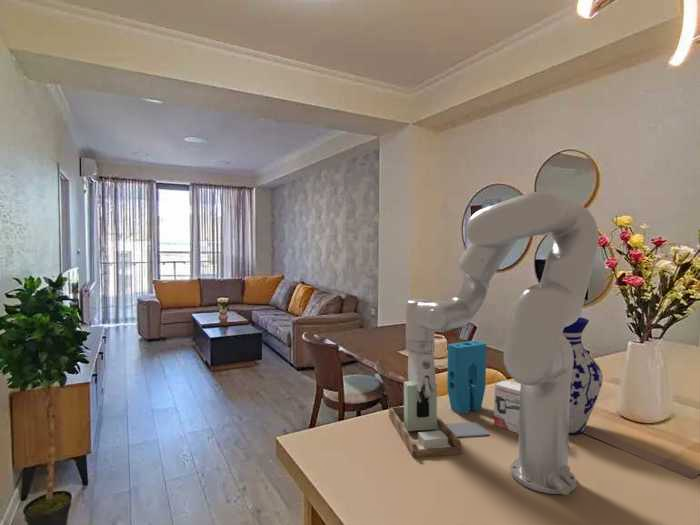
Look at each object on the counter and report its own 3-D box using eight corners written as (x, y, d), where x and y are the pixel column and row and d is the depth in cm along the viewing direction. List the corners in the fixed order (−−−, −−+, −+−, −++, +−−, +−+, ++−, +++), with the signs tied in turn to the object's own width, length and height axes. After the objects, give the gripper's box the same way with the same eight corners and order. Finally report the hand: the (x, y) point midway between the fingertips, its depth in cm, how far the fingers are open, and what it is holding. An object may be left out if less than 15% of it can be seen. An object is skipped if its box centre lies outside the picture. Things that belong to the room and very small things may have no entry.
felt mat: (489, 435, 107) (489, 433, 107) (449, 438, 106) (449, 436, 106) (476, 423, 115) (476, 422, 115) (439, 425, 113) (439, 424, 113)
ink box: (493, 425, 114) (493, 383, 113) (501, 420, 117) (502, 379, 117) (523, 435, 108) (524, 391, 107) (531, 430, 111) (532, 386, 111)
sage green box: (436, 428, 109) (436, 384, 109) (407, 431, 108) (407, 385, 108) (432, 423, 112) (432, 380, 112) (403, 425, 111) (403, 381, 111)
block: (474, 402, 130) (475, 340, 130) (486, 408, 126) (487, 343, 125) (445, 409, 124) (446, 344, 124) (457, 415, 120) (458, 348, 119)
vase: (610, 447, 101) (613, 326, 100) (526, 435, 108) (529, 321, 107) (592, 417, 119) (594, 315, 118) (521, 409, 126) (523, 311, 125)
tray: (460, 454, 98) (460, 441, 97) (412, 457, 96) (413, 444, 96) (428, 415, 120) (428, 405, 120) (389, 417, 119) (389, 407, 118)
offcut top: (447, 445, 99) (447, 437, 99) (424, 448, 98) (424, 440, 97) (440, 438, 103) (440, 430, 103) (417, 440, 101) (418, 432, 101)
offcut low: (451, 455, 98) (451, 447, 98) (419, 457, 97) (419, 449, 97) (443, 445, 103) (443, 437, 103) (413, 447, 102) (413, 439, 102)
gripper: (445, 352, 102) (445, 425, 102) (423, 338, 118) (423, 401, 119) (416, 353, 101) (416, 427, 101) (398, 339, 117) (398, 403, 118)
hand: (420, 413), depth 110 cm, fingers closed on sage green box, 3 cm apart
